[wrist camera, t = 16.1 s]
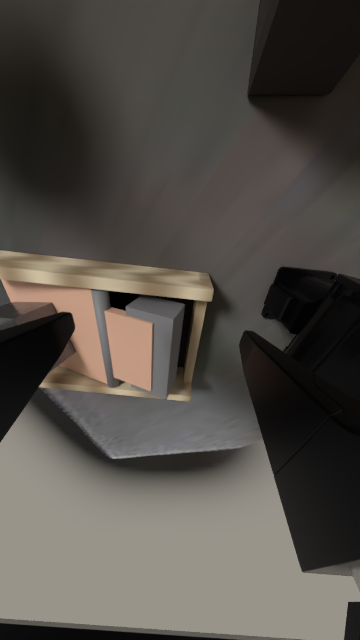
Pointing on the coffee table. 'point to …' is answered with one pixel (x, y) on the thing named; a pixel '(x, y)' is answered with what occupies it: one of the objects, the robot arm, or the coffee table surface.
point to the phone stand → (303, 46)
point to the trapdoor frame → (119, 281)
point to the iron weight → (29, 312)
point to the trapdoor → (115, 334)
